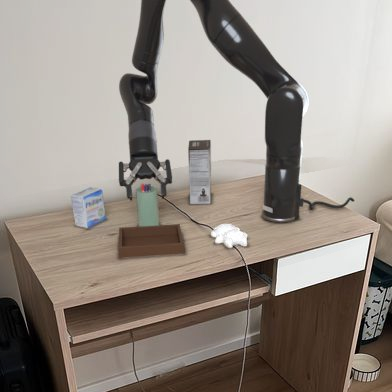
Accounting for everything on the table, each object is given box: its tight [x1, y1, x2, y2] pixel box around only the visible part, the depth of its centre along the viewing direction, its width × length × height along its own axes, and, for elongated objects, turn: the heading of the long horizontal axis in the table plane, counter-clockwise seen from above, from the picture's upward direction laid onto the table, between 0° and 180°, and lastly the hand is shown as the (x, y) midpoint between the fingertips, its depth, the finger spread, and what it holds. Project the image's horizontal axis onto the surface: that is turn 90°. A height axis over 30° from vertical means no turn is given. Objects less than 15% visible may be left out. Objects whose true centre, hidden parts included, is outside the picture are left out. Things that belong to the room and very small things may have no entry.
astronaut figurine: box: [210, 223, 248, 249], centre depth 137 cm, size 9×12×3 cm
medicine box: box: [70, 186, 106, 229], centre depth 147 cm, size 8×4×9 cm, turn 148°
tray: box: [118, 223, 185, 259], centre depth 135 cm, size 16×13×3 cm
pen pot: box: [135, 183, 160, 227], centre depth 143 cm, size 6×6×12 cm
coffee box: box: [187, 139, 212, 205], centre depth 158 cm, size 9×6×16 cm
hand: (147, 198), depth 145 cm, fingers open, 8 cm apart
